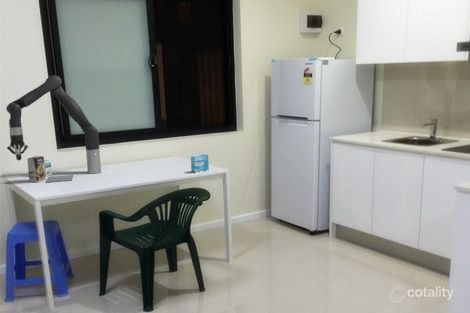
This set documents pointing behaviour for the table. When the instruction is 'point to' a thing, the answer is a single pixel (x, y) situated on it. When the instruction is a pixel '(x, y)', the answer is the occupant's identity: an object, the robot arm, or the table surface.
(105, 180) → the table surface
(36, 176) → the coffee box
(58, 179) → the mat
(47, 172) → the light bulb box
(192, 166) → the data package
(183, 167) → the table surface
